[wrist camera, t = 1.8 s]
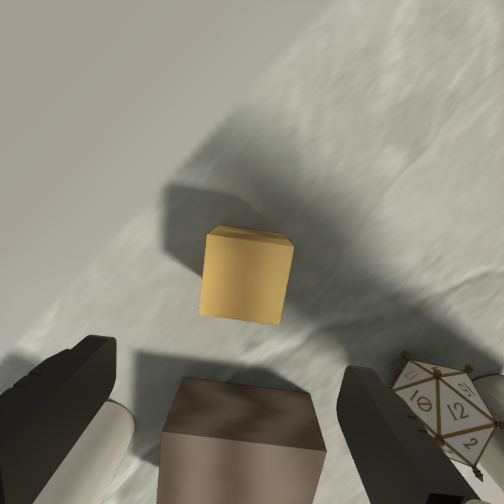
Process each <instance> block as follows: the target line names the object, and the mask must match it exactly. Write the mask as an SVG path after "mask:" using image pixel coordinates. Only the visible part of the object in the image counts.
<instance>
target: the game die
mask: <svg viewBox="0 0 504 504" xmlns="http://www.w3.org/2000/svg"><path fill="white" fill-rule="evenodd" d="M403 356H404V357H405V358H406V359H407V362H406V363H405V365H404V367H403V369H402V370H401V372H400V374H399V375H398V377H397V379H396V380H395V382H394V384H393V386H392V387H391V389H392V390H393V391H394V392H395V393H397V394H398V395H399V396H400V397H401V398H402V399H404V400H405V402H406V403H407V404H408V405H409V407H410V408H411V409H412V411H413V412H414V413H415V415H416V416H417V419H418V420H420V421H421V422H422V424H423V425H424V426H425V428H426V429H427V430H428V434H431V435H432V437H433V438H434V439H435V441H436V442H437V443H438V445H439V446H440V447H441V448H442V450H443V451H444V452H445V454H446V455H447V456H448V458H450V459H452V460H455V461H457V462H460V463H462V464H465V465H467V466H470V467H472V469H473V473H474V474H475V476H476V477H477V478H478V479H480V480H481V481H482V482H483V474H481V472H480V470H478V468H477V467H476V465H477V463H478V461H479V460H480V458H481V456H482V454H483V452H484V450H485V449H486V447H487V445H488V443H489V441H490V439H491V438H492V436H493V434H494V432H495V430H496V428H497V427H500V428H501V429H504V422H502V421H496V419H495V417H494V416H493V414H492V412H491V411H490V409H489V407H488V406H487V404H486V402H485V401H484V399H483V397H482V396H481V394H480V393H479V391H478V389H477V388H476V386H475V384H474V383H473V381H472V379H471V378H470V376H469V373H470V372H471V371H472V370H473V366H472V365H468V366H467V365H466V367H465V370H464V371H463V370H458V369H453V368H449V367H444V366H440V365H435V364H430V363H426V362H421V361H416V360H412V359H410V356H409V355H408V353H406V352H405V351H404V352H403ZM473 371H474V370H473Z"/></svg>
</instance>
